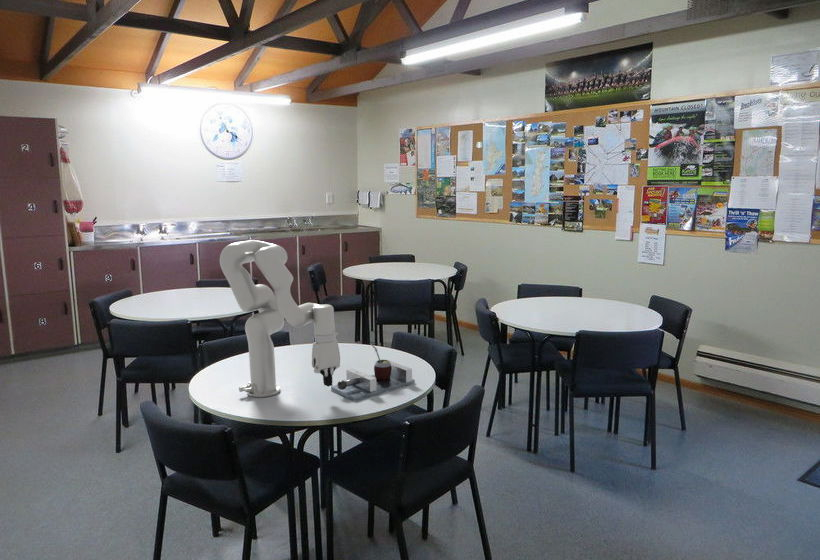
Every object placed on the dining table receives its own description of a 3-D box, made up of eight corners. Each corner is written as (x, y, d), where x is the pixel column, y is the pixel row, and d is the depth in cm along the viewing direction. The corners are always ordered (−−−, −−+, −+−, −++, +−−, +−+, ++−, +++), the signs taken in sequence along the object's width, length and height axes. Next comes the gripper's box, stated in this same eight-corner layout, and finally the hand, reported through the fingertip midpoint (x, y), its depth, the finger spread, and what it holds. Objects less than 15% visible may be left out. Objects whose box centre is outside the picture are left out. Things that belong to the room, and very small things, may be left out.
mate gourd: (393, 382, 233) (393, 346, 231) (374, 384, 231) (373, 348, 228) (389, 376, 240) (388, 341, 238) (370, 378, 238) (369, 343, 235)
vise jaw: (350, 397, 215) (349, 385, 215) (327, 386, 228) (326, 375, 227) (376, 390, 223) (376, 378, 222) (352, 379, 235) (352, 368, 235)
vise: (354, 401, 217) (353, 384, 216) (331, 390, 229) (330, 374, 228) (414, 383, 236) (414, 368, 235) (390, 373, 248) (390, 359, 247)
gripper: (336, 332, 222) (339, 378, 225) (302, 340, 213) (305, 387, 215) (347, 335, 216) (350, 382, 219) (312, 343, 207) (316, 392, 210)
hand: (328, 385), depth 217 cm, fingers closed
